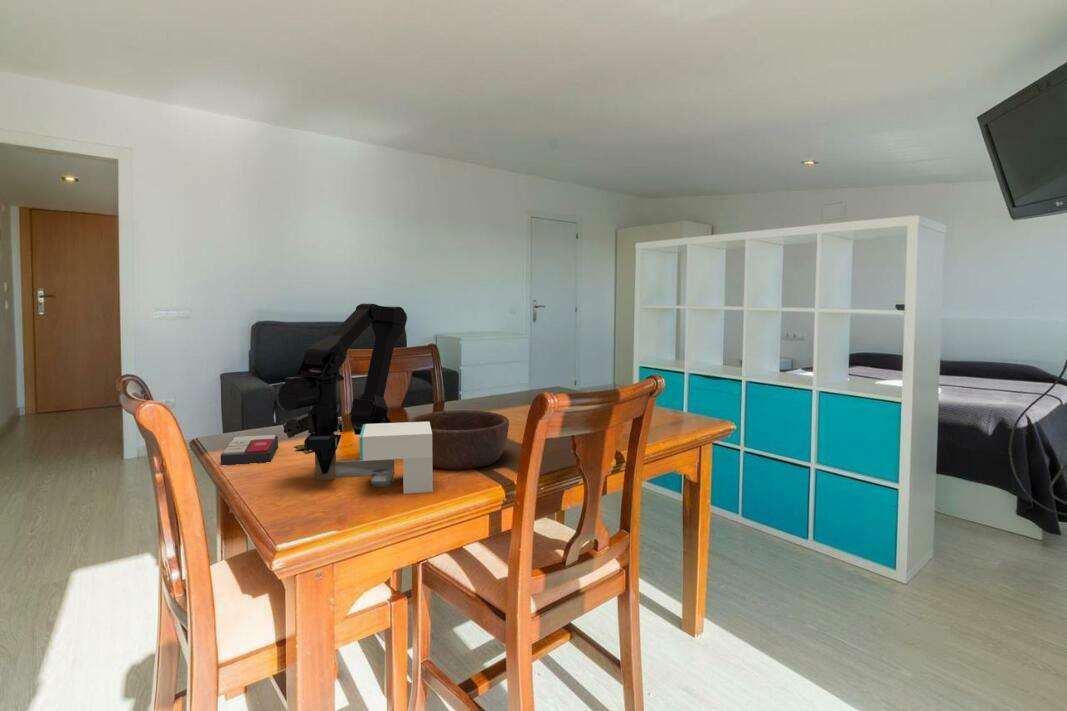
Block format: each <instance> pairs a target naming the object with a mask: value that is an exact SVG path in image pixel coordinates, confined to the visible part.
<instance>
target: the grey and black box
mask: <svg viewBox="0 0 1067 711" xmlns="http://www.w3.org/2000/svg"><path fill="white" fill-rule="evenodd" d="M278 449H279V437H278V435H276V434H268V435H267V434H266V435H265V434H264V435H250V436H249V435H247V436H235V437H233V438H232V439H231V440H230V442H229V443H228V444H227V445H226V447H225V448H224V450H223V452H222V453H221V454H220V466H221V465H227V466H237V465H236V464H242V465H251V464H250V463H257V464H267V463H266V462H270V463H271V462H272V460H273V458H274V456H275V454H276V452H277V451H278ZM276 450H277V451H276Z"/></svg>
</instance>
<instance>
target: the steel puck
mask: <svg viewBox="0 0 1067 711" xmlns="http://www.w3.org/2000/svg"><path fill="white" fill-rule="evenodd" d="M394 481H395V480H394V474H393V470H391V469H377V470H374V471H372V472H371V475H370V485H371V487H373V488H379V489H380V488H388V487H391V486H393V485H394Z"/></svg>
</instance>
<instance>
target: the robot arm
mask: <svg viewBox="0 0 1067 711" xmlns="http://www.w3.org/2000/svg"><path fill="white" fill-rule="evenodd" d="M407 321H408V316H407V313H406V311H405V309H404V308H403V307H402V306H391V305H390V306H388V305H387V306H385V305H383V306H382V305H379V304H376V303H360V304H357V306H356V307H355V310H354V311H353V312H352V313H351V314H350V315H349V316H348V317H347V318H345V320H344V321H343V322H342V323H341V324H340V325H339V326H338V327H337V329H336V330H334V332H333V333H332V334H330V335H329V336H328V337H327V338H324V339H322V340H319V341H316V342H315V343H314V344H312V345H311V346H310V347H308V348H307V349H306V350H305V352H304V354H303V356H304V357H303V358H302V360H301V362H300V365H299V366H298V368H297V370H296V372H295V373H294V376H293V377H291V376H289V377H285V378H284V384H282V385H281V386H280V388H279V390H278V393H277V398H278V403H279V405H280V406H281V408H283V410H285V411H290V412H291V411H295V410H299V409H303V408H307V407H310V408H309V409H308V410H307V413H305V414H302V415H300V416H297V417H296V416H294V417H292V418H290V419H289V418H288V419H286V422H284V423H283V424H282V426H283V433H284V434H286V436H287V438H288V439H291V438H294V437H295V436H297V435H299V434H303V433H305V432H307V433H308V435H309V436H308V435H307V437H306V438H305V439H304V442H303V445H304V449H303V451H304V450H309V451H312V452H314V454H315V453H316V455H317V458H318V461H319V464H320V468H321V471H322V474H327V473H328V471H329V468H330V465H331V462H332V459H333V457H334V454H335V451H336V452H337V449H338V448H339V443H340V441H341V439H342V434H340V433H343V431H344V422H343V420H341V419H340V418H339V410H340V404H339V399H338V382H341V381H344V380H345V377H344V376H342V375H341V374H340V373H339V370H340V369H341V368H342V366H343V364H344V363H345V361H346V360H347V354H348V350H349V349H350V348H351V346H353V344H354V343H355V342H356V341H357V340H358V339H359V338H360V337H361V335H363V333H365V331H366V330H367V329H368V328H369V327H371V331H372V334H373V335H374V342H373V346H372V350H371V356H370V360H369V366H368V371H367V375H366V380H365V384H364V389H363V393H362V395H360V396H359V398H353V400H352V404H351V410H350V412H349V416H350V417H349V419H350V424H351V425H352V429H353V433H354V435H355V436H357V435H359V436H360V433H361V430H362V427H363V424H378V423H393V422H392V421H391V419H390V418H388V406H387V402H386V399H385V391H386V387H387V384H388V383H387V382H388V378H389V374H390V373H389V372H390V368H391V361H392V359H393V352H394V347H395V345H396V344H395V343H396V341H397V340H398V339H399V338H400V337H401V336H402V335H403V333H404V332H405V331H404V330H405V328H406V325H407ZM338 431H339V434H338V433H337V432H338ZM310 433H311V434H310ZM336 433H337V434H336Z"/></svg>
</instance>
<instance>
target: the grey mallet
mask: <svg viewBox="0 0 1067 711" xmlns="http://www.w3.org/2000/svg"><path fill="white" fill-rule="evenodd" d="M314 461H315V462H314V466H315V467H314V469H315V481H316V482H317V481H318V482H319V481H333V480H335V479H336V478H348V477H349V478H350V477H364V476H365V477H367V476H368V477H369V476H370V477H371V472H372V471H374V470H377V469H391V470H393V475H395V459H387V460H368V461H363V460H361V461H360V459H357V460H340V461H339V460H337V450H336V451H335V454H334V457H333V459H332V462H331V465H330V468H329V471H328V473H327V474H322V471H321V468H320V464H319V461H318V458H317V455H316V453H315V452H314Z"/></svg>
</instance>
